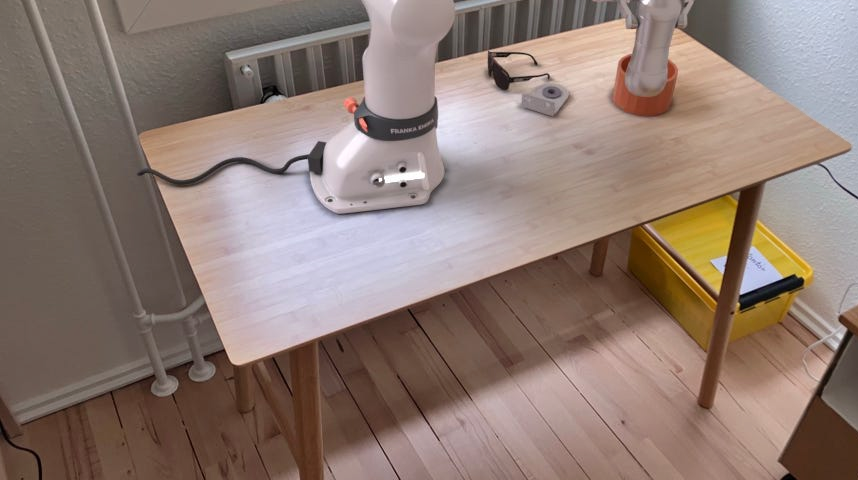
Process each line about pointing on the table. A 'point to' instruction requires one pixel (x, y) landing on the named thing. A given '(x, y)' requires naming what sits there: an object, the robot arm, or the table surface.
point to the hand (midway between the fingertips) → (656, 27)
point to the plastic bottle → (652, 46)
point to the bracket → (546, 98)
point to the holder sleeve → (643, 104)
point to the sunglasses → (502, 75)
